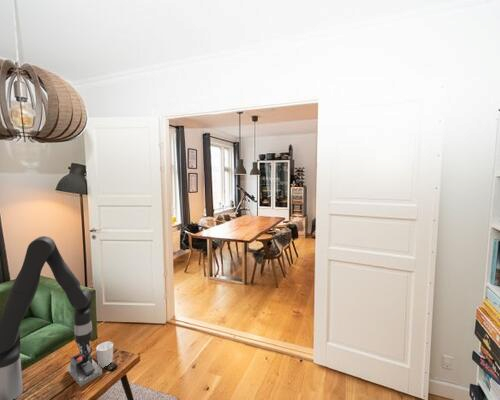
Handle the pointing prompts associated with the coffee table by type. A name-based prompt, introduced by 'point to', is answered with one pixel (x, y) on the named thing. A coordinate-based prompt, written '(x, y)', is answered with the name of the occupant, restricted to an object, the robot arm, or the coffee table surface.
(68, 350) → the coffee table surface
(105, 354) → the white cup
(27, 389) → the coffee table surface
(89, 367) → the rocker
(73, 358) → the grey switch box
